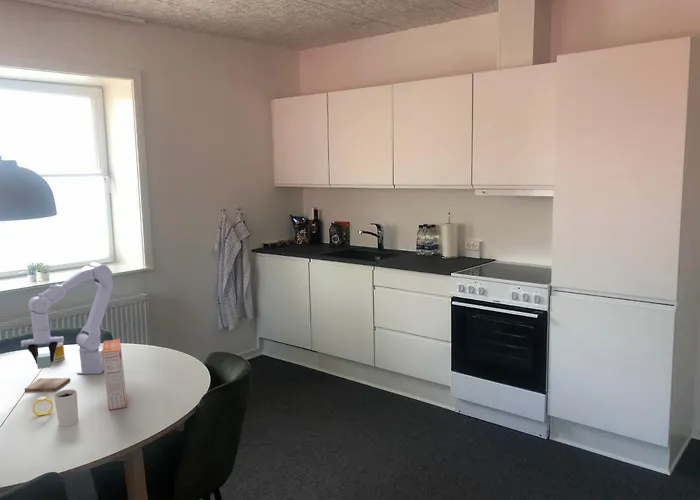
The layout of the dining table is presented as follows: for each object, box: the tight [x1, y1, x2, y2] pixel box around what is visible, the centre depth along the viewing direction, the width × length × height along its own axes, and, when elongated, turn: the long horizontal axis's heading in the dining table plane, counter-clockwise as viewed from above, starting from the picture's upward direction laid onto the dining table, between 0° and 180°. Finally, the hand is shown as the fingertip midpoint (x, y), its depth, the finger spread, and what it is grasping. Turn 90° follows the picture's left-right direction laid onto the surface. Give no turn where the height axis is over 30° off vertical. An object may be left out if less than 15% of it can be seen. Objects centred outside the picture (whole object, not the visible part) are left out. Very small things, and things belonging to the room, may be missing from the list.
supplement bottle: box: [53, 342, 66, 362], centre depth 252 cm, size 5×5×10 cm
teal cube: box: [36, 352, 54, 370], centre depth 224 cm, size 4×4×4 cm
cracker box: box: [102, 338, 127, 411], centre depth 204 cm, size 14×6×21 cm, turn 21°
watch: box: [32, 396, 54, 417], centre depth 197 cm, size 6×3×6 cm, turn 115°
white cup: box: [53, 388, 79, 427], centre depth 190 cm, size 7×7×10 cm
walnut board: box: [24, 377, 71, 393], centre depth 222 cm, size 12×10×1 cm
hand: (45, 362), depth 224 cm, fingers closed on teal cube, 4 cm apart
